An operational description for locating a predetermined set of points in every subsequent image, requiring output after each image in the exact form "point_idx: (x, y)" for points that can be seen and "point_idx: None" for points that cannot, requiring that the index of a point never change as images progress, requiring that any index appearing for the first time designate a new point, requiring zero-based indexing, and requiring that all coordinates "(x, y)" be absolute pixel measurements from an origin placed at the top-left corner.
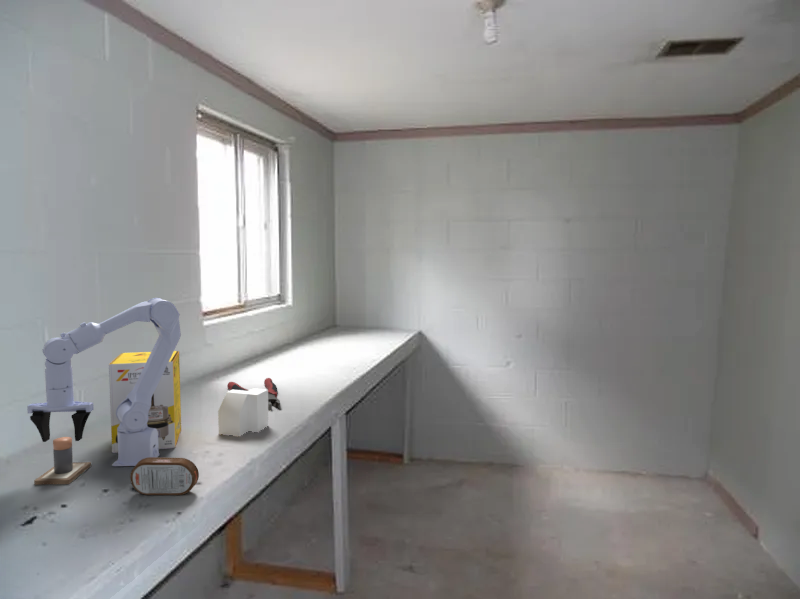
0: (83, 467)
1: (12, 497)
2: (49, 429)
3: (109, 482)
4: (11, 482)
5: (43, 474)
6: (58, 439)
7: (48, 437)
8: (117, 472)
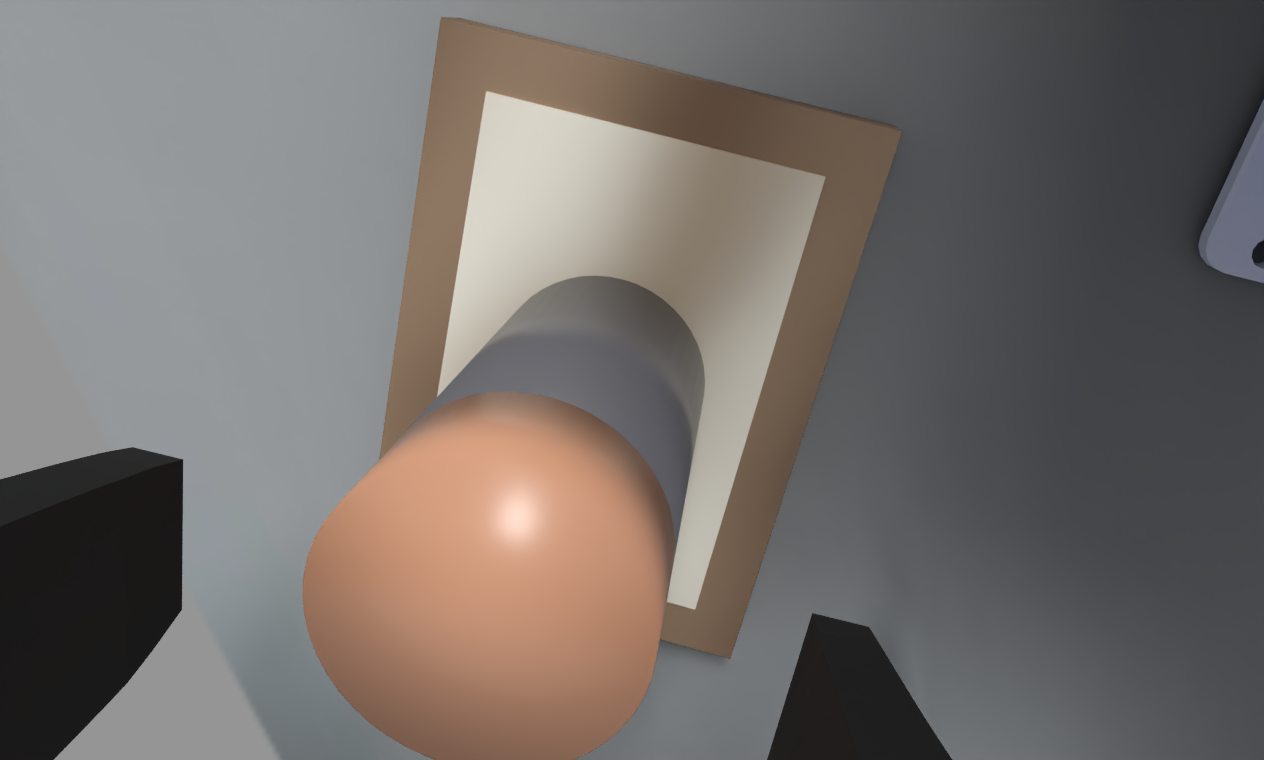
0: (825, 320)
1: (312, 743)
2: (9, 530)
3: (1159, 721)
4: (127, 397)
5: (395, 410)
6: (389, 591)
7: (150, 524)
8: (1259, 469)
